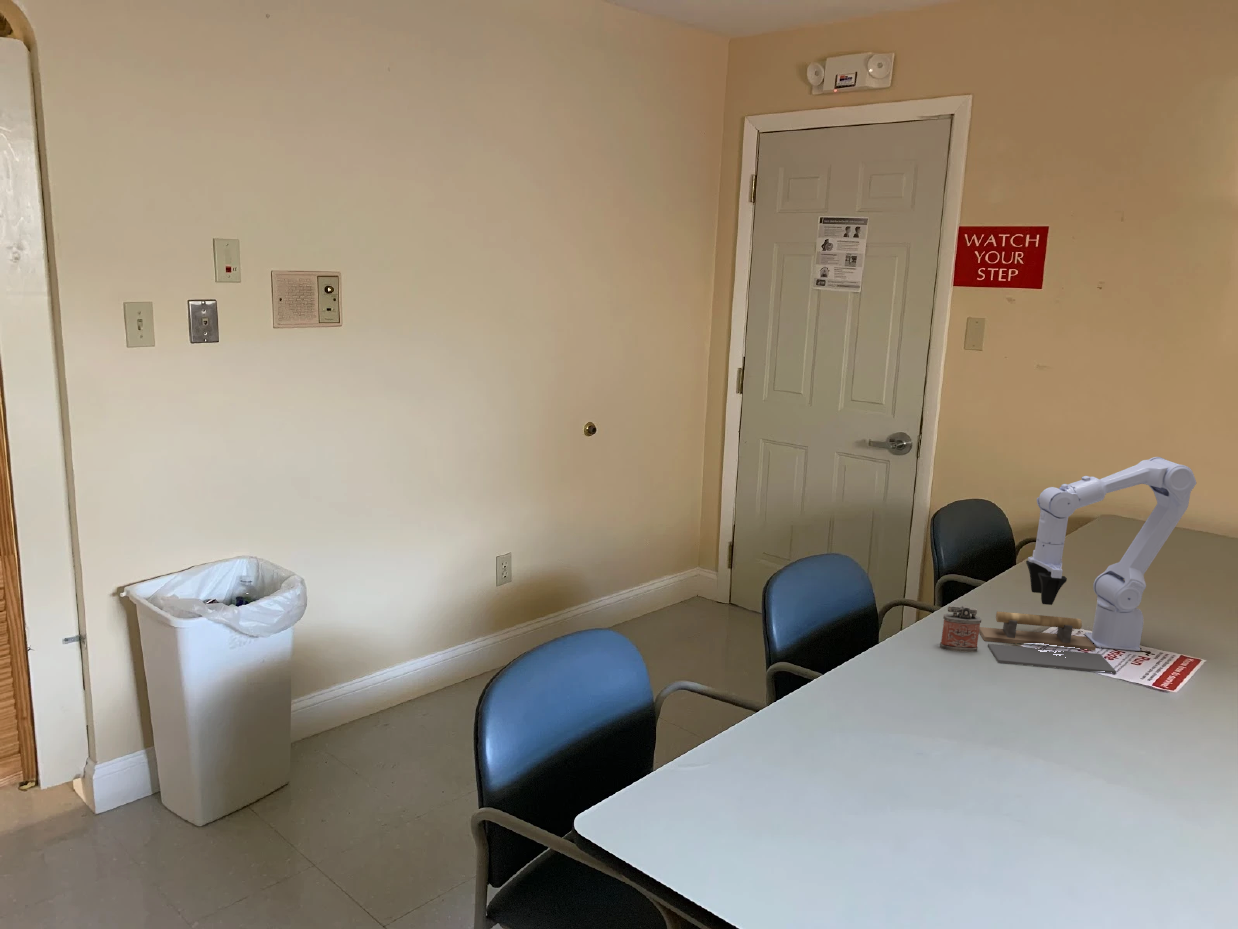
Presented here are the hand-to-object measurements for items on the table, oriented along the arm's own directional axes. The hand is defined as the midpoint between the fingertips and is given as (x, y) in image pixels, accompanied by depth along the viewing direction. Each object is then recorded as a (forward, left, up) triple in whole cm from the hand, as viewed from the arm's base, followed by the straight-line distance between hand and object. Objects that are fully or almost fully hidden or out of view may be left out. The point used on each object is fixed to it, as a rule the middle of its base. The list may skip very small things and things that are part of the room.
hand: (1041, 598), depth 206 cm
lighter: (+19, +9, -11) cm, 24 cm away
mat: (0, +10, -10) cm, 15 cm away
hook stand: (0, 0, -10) cm, 10 cm away
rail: (0, 0, -7) cm, 7 cm away
